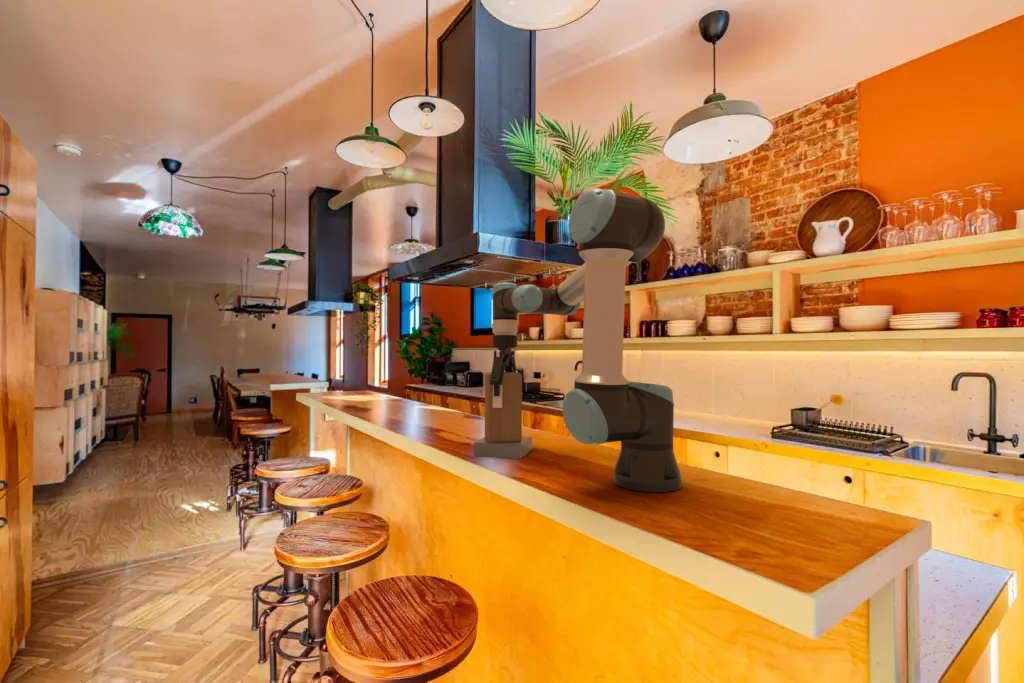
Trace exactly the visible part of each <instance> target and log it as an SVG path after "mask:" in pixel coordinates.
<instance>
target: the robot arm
mask: <svg viewBox="0 0 1024 683" xmlns="http://www.w3.org/2000/svg"><path fill="white" fill-rule="evenodd" d="M567 225H568V233H569V236H570V238H571V240H572V241H573V242H575V243H576V244H578V256H579V257H581V259H582V260H583V261H584V263H583V264H582V265H581V266H579V267H578V268H577V269H576V270H575V271H574V272H573V273H571V274H570V275H568V277H566V279H565V280H563V281H562V282H561V283H560V284H559V285H557V286H556V287H555V288H549V287H548V288H547V287H538V286H536V285H535V284H522V285H519V286H518V284H516V283H513V282H504V281H503V282H498V283H497V282H496V283H495V284H494V285H493V286H492V295H491V297H492V323H491V324H490V326H491V327H492V334H494V335H493V336H492V338H491V339H492V343H491V345H492V347H493V348H496V349H497V350H494V351H493V362H492V367H491V371H490V372H491V378H490V385H493V408H502V402H503V385H501V383H502V379H503V375H504V372H517V365H516V356H515V350H512V348H513V349H514V348H518V336H517V335H516V334H518V314H536V315H537V314H540V315H541V314H542V315H544V314H545V315H556V316H557V315H558V316H573V315H575V314H576V313H578V311H579V309H580V307H581V302H582V301H583V300H584V301H583V328H582V330H583V331H582V354H581V355H582V357H581V358H582V360H581V362H582V363H581V372H580V373H579V374H578V375H577V376H576V377H575V378H574V384H573V385H574V387H573V389H571V390H569V391H568V392H567V393H566V394H565V397H564V398H563V402H562V407H561V408H562V417H563V421H564V424H565V427H566V428H567V430H568V432H569V434H570V435H571V436H572V438H574V439H575V440H576V441H577V442H579V443H582V444H585V445H592V444H593V445H595V444H596V445H603V444H605V443H614V442H616V443H617V442H620V450H619V454H618V456H617V459H616V463H615V465H614V469H613V471H612V472H613V475H612V476H613V477H612V478H613V479H612V480H613V483H614V484H615V485H617V486H618V487H620V488H621V487H622V488H624V489H628V490H632V491H636V492H645V493H670V492H669V491H671V492H675V491H678V490H680V489H682V486H683V485H682V484H683V482H682V481H683V479H682V478H683V477H682V474H681V471H680V467H679V465H678V462H677V461H678V460H677V459H676V456H675V452H674V414H675V413H674V411H675V410H674V406H675V403H674V393H673V390H672V389H671V388H670V387H669V386H668V385H662V384H657V383H647V382H642V381H641V382H638V381H630V380H628V379H627V378H626V377H625V376H624V374H623V360H624V358H623V356H624V354H623V352H624V332H625V331H624V330H625V329H624V328H625V326H624V324H625V304H626V303H625V302H626V301H625V298H626V272H627V271H626V270H627V268H626V267H628V266H629V265H631V264H632V263H633V264H638V263H640V262H642V261H643V260H644V259H646V258H647V257H649V255H651V254H652V253H653V252H654V251H655V250H656V249H657V248H658V246H659V245H660V243H661V242H662V240H663V238H664V234H665V230H666V220H665V216H664V213H663V211H662V210H661V208H660V206H658V204H656V202H654V201H653V200H651V199H649V198H646V197H642V196H636V195H632V194H627V193H623V192H621V191H619V192H618V191H615V190H613V189H611V188H607V189H603V188H598V187H596V188H591V189H588V190H586V191H585V192H583V193H582V194H581V195H580V196H579V198H577V200H576V202H575V204H574V205H573V207H572V209H571V212H570V214H569V218H568V224H567Z"/></svg>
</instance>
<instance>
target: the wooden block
mask: <svg viewBox="0 0 1024 683" xmlns="http://www.w3.org/2000/svg"><path fill="white" fill-rule="evenodd" d="M491 372H492V371H486V372H485V373H484V437H486V439H487V441H488V442H489V443H496V442H521V441H522V436H523V435H522V433H523V426H522V424H523V375H522V373H520V372H518V371H516V372H505V371H504V375H503V379H502V383H501V385H503V402H502V408H493V385H490V378H491Z"/></svg>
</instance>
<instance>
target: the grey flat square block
mask: <svg viewBox="0 0 1024 683" xmlns="http://www.w3.org/2000/svg"><path fill="white" fill-rule="evenodd" d="M531 449H532V450H533V436H526V435H525V436H524V435H522V441H521V442H496V443H489V442H488V441H487V439H486V437H485V436H483V437H481V438H480V439H478V440H476V441H474V442H473V456H474V457H478V456H480V457H482V458H492V457H496V459H507V458H513V459H512V460H522V459H523V458H524V457H526V456H527V455H528V454H529V453H530V452H531V451H532V450H531ZM530 450H531V451H530ZM529 451H530V452H529ZM528 452H529V453H528ZM527 453H528V454H527ZM526 454H527V455H526ZM523 456H524V457H523ZM480 457H479V458H480ZM522 457H523V458H522ZM521 458H522V459H521Z"/></svg>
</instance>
